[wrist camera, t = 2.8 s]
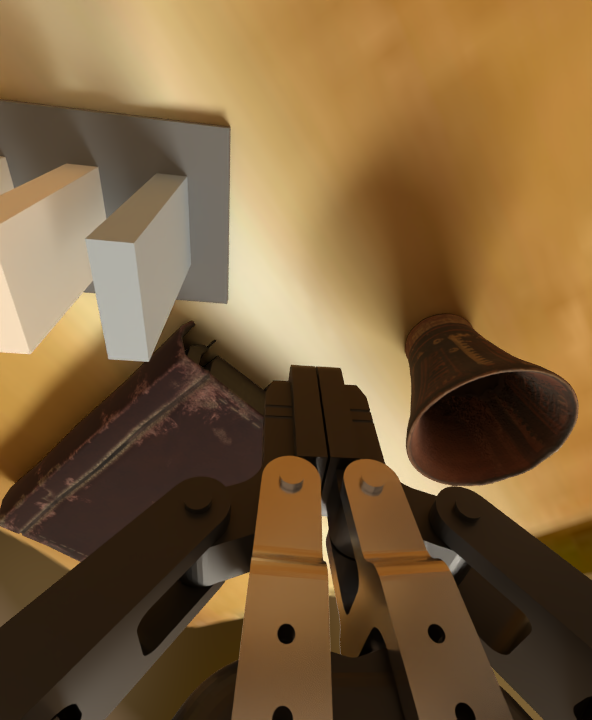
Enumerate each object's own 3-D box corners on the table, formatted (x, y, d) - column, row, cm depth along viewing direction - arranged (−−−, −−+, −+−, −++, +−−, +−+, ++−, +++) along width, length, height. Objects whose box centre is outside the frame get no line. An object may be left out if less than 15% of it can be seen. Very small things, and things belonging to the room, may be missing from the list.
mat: (-317, 61, 19) (-333, 61, 18) (230, 126, 21) (229, 128, 21) (-191, 265, 25) (-200, 269, 24) (228, 299, 27) (227, 303, 26)
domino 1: (66, 163, 21) (-63, 225, 13) (98, 166, 22) (-11, 229, 13) (84, 254, 24) (-12, 351, 16) (112, 257, 24) (30, 354, 16)
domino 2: (156, 173, 22) (84, 238, 14) (187, 176, 22) (133, 243, 14) (164, 261, 25) (108, 359, 17) (191, 264, 25) (149, 361, 17)
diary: (16, 475, 38) (-16, 524, 34) (188, 310, 28) (171, 350, 24) (179, 552, 46) (169, 600, 42) (354, 444, 36) (363, 492, 32)
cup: (337, 368, 30) (382, 469, 21) (421, 267, 27) (513, 339, 18) (419, 414, 33) (485, 517, 25) (502, 330, 30) (610, 415, 22)
